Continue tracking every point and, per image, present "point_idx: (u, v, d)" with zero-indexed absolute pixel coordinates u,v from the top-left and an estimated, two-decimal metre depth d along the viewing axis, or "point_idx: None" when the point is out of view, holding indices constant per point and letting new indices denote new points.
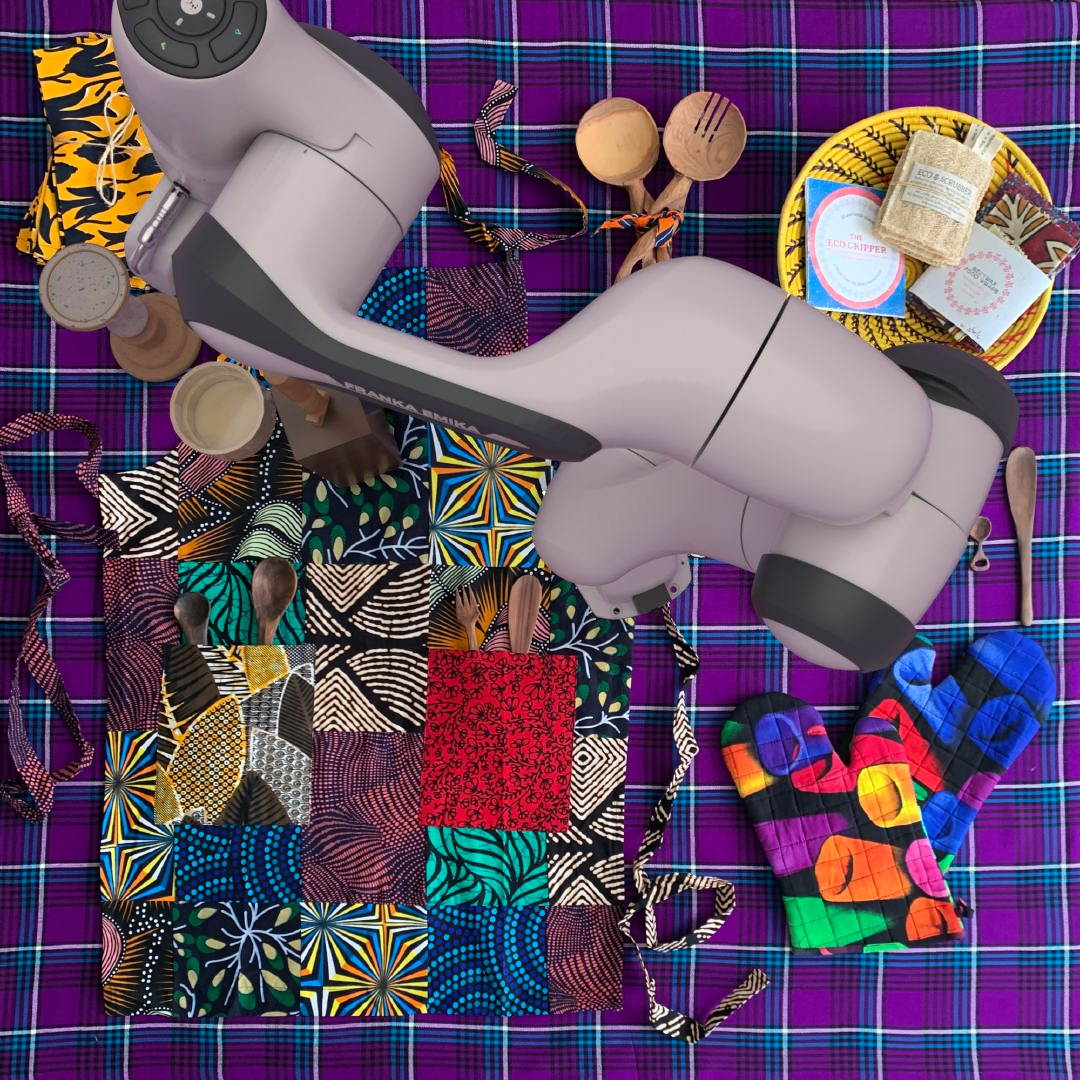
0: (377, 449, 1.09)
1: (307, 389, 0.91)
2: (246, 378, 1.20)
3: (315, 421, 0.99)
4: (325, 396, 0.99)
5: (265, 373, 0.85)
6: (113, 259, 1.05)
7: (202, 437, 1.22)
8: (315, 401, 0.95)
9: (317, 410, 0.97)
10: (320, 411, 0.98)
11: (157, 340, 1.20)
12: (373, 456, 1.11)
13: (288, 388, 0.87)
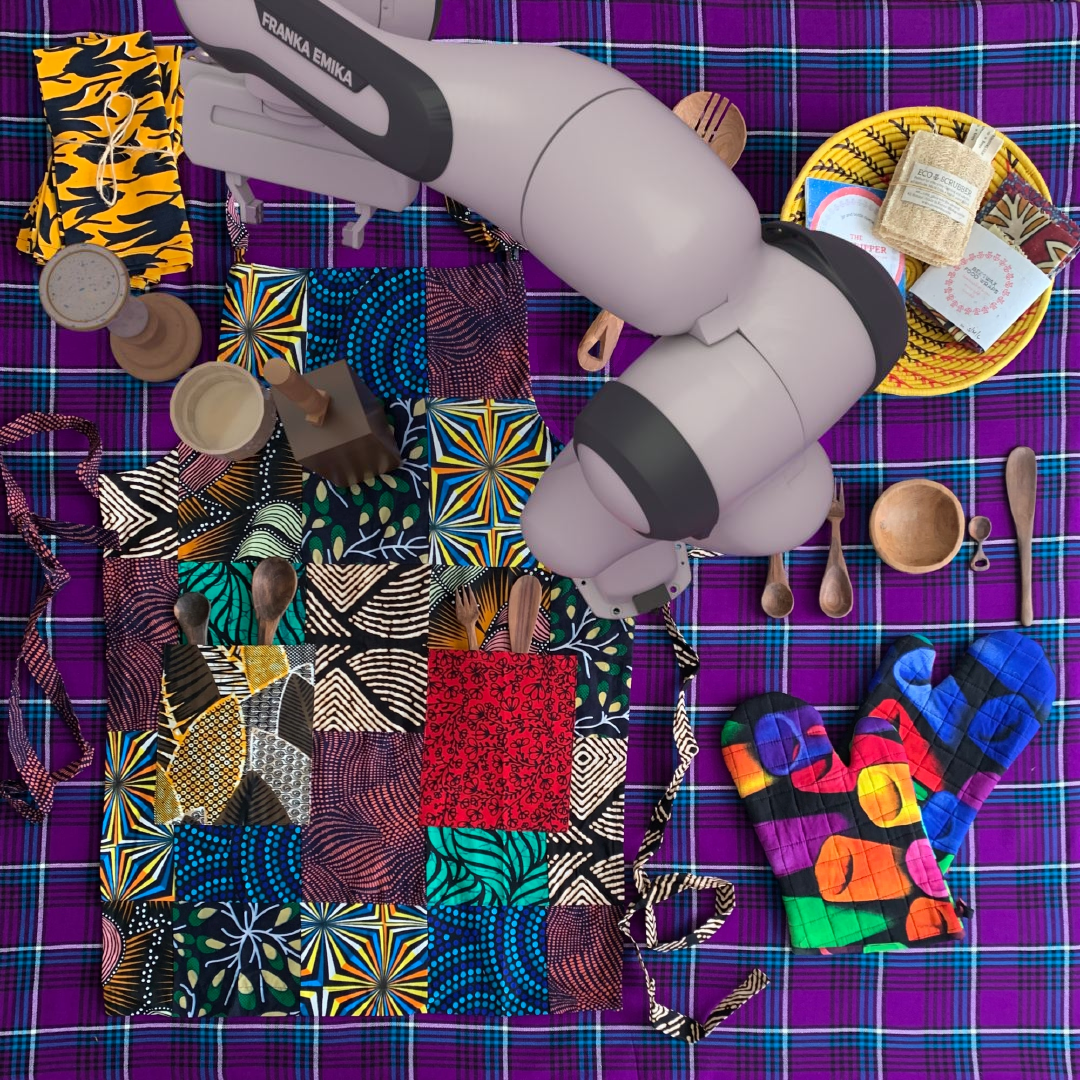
0: (377, 449, 1.09)
1: (307, 389, 0.91)
2: (246, 378, 1.20)
3: (315, 421, 0.99)
4: (325, 396, 0.99)
5: (265, 373, 0.85)
6: (113, 259, 1.05)
7: (202, 437, 1.22)
8: (315, 401, 0.95)
9: (317, 410, 0.97)
10: (320, 411, 0.98)
11: (157, 340, 1.20)
12: (373, 456, 1.11)
13: (288, 388, 0.87)
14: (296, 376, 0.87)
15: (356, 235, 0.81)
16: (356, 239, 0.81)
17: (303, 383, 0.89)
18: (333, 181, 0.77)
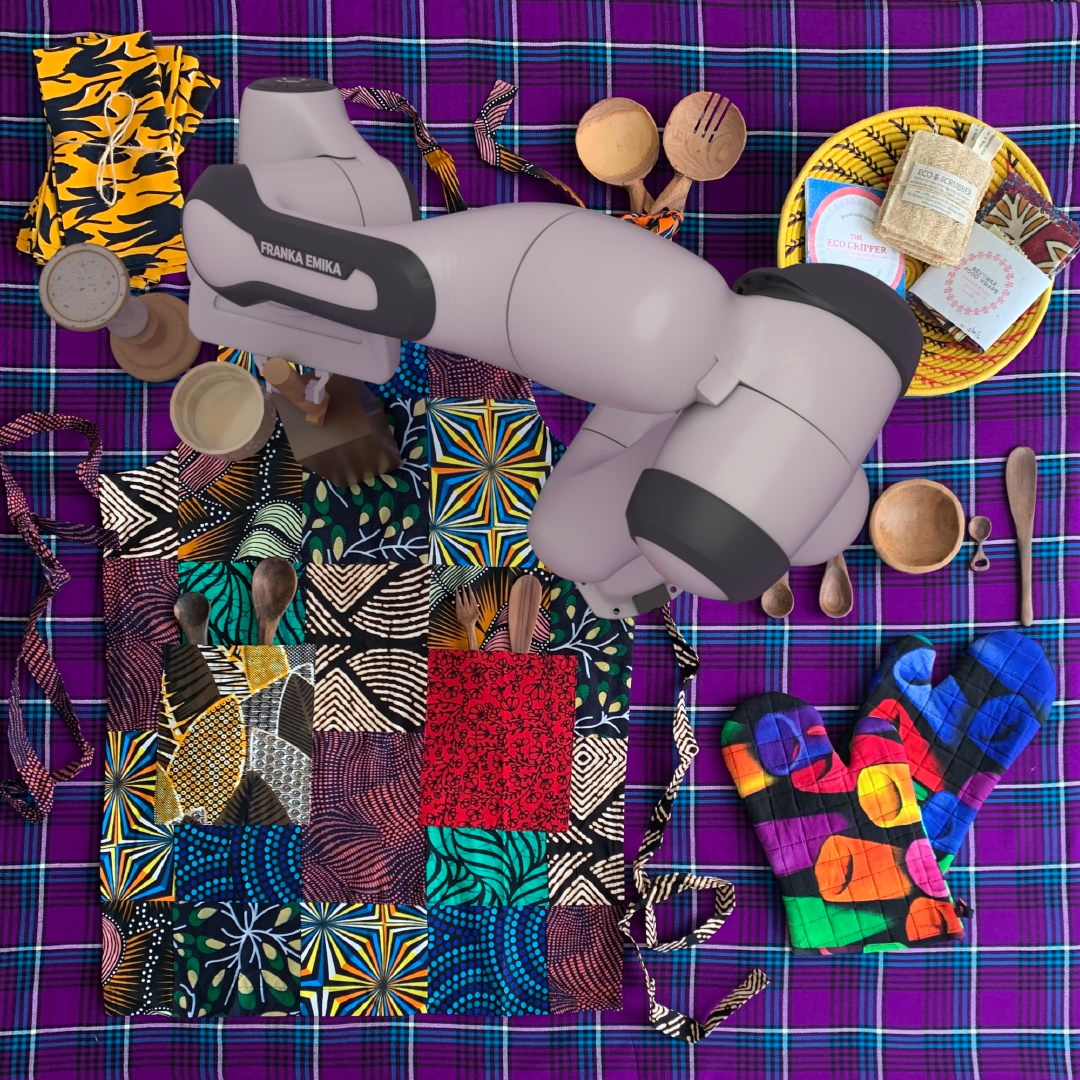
0: (377, 449, 1.09)
1: None
2: (246, 378, 1.20)
3: (315, 421, 0.99)
4: (325, 396, 0.99)
5: (265, 373, 0.85)
6: (113, 259, 1.05)
7: (202, 437, 1.22)
8: None
9: (317, 410, 0.97)
10: (320, 411, 0.98)
11: (157, 340, 1.20)
12: (373, 456, 1.11)
13: (288, 388, 0.87)
14: (296, 376, 0.87)
15: (317, 393, 0.90)
16: (317, 397, 0.90)
17: (303, 383, 0.89)
18: (322, 358, 0.86)
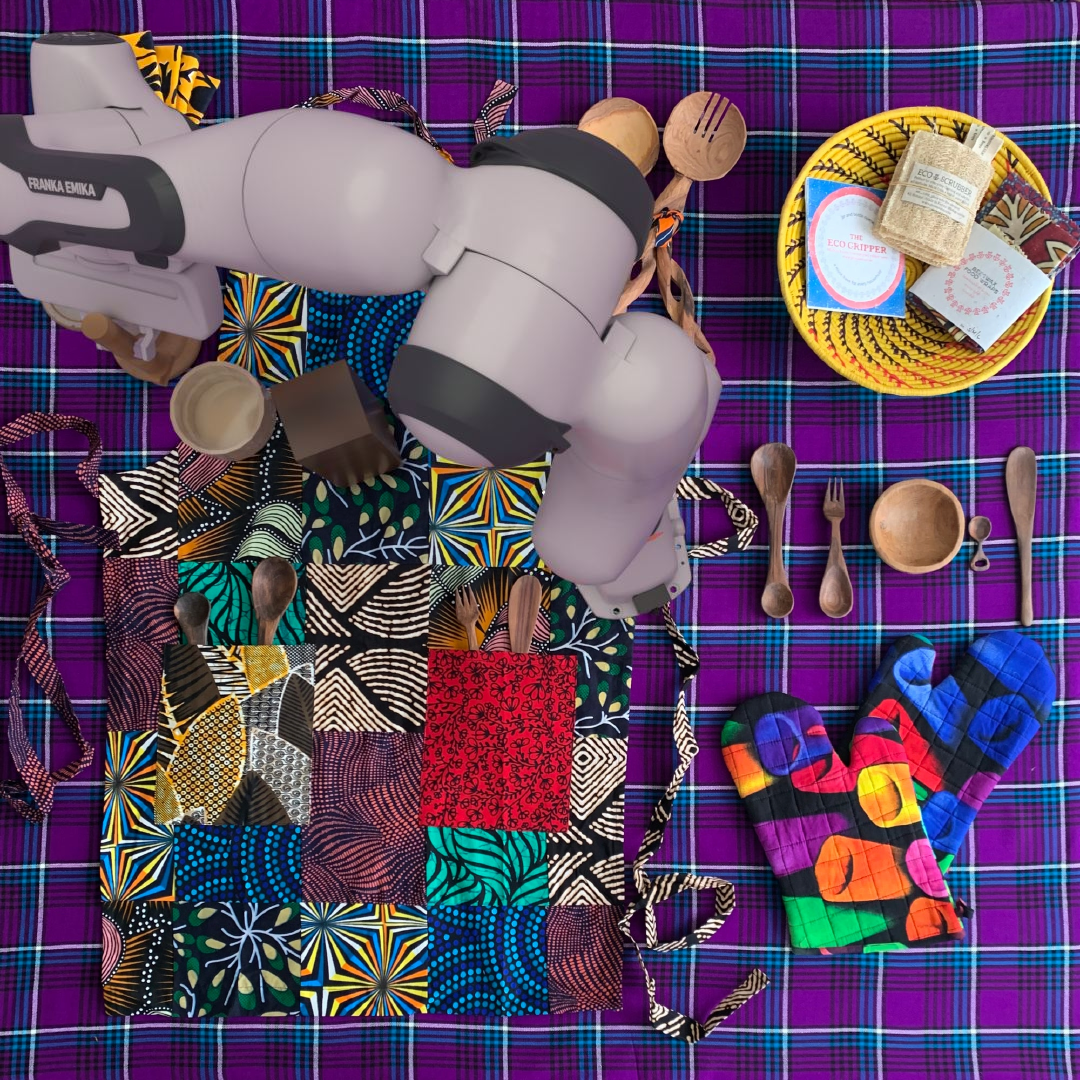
0: (377, 449, 1.09)
1: None
2: (246, 378, 1.20)
3: (157, 381, 1.01)
4: (168, 356, 1.01)
5: (83, 328, 0.87)
6: None
7: (202, 437, 1.22)
8: None
9: (156, 369, 0.98)
10: (160, 370, 0.99)
11: (157, 340, 1.20)
12: (373, 456, 1.11)
13: (110, 344, 0.89)
14: (118, 332, 0.89)
15: (145, 350, 0.92)
16: (145, 353, 0.92)
17: (129, 340, 0.91)
18: (143, 314, 0.88)
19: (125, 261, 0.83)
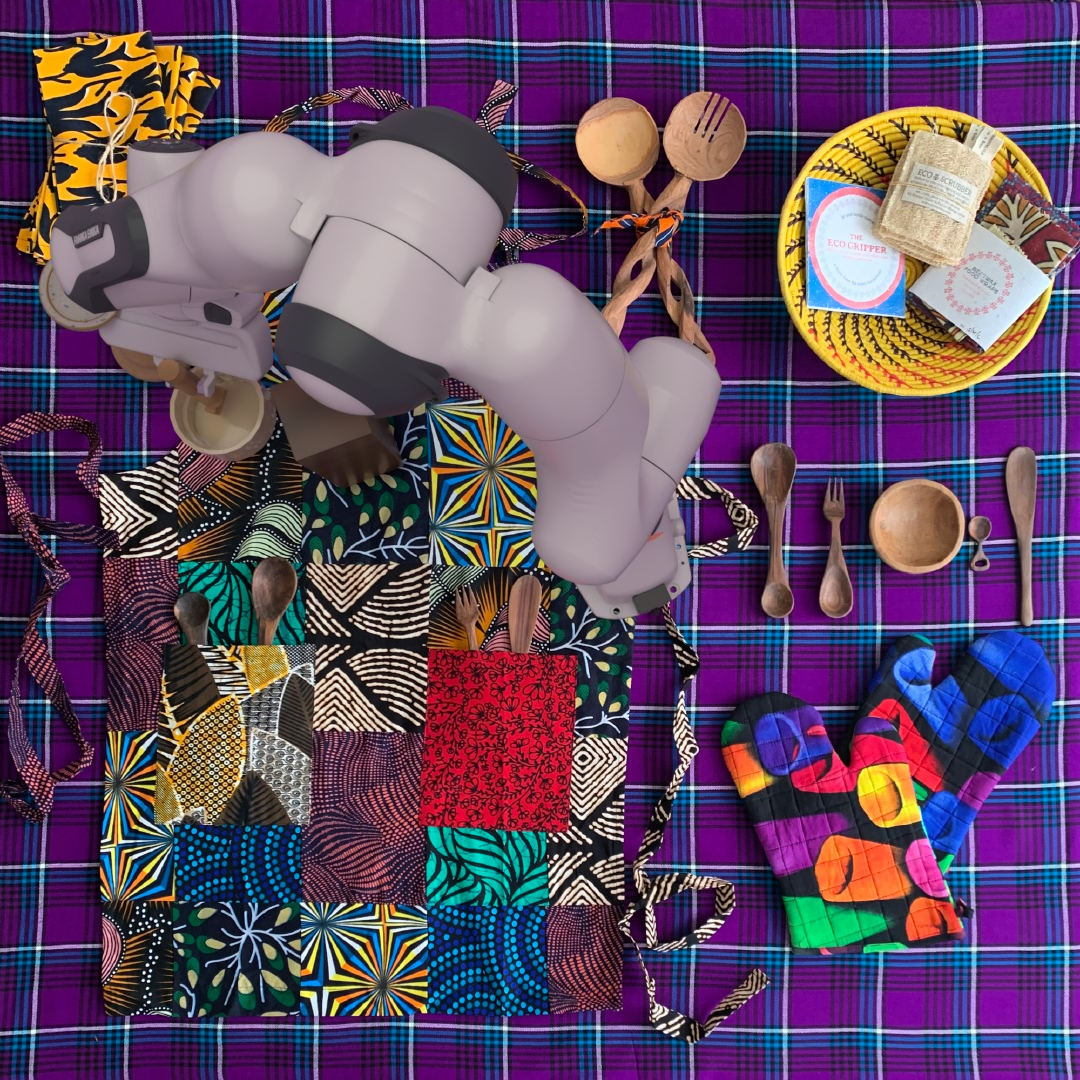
0: (377, 449, 1.09)
1: None
2: None
3: (213, 411, 1.19)
4: (221, 390, 1.19)
5: (159, 371, 1.05)
6: None
7: (202, 437, 1.22)
8: None
9: (212, 402, 1.17)
10: (216, 403, 1.18)
11: None
12: (373, 456, 1.11)
13: (180, 384, 1.07)
14: (186, 374, 1.07)
15: (206, 388, 1.10)
16: (207, 391, 1.10)
17: (194, 380, 1.09)
18: (207, 360, 1.06)
19: (196, 319, 1.01)
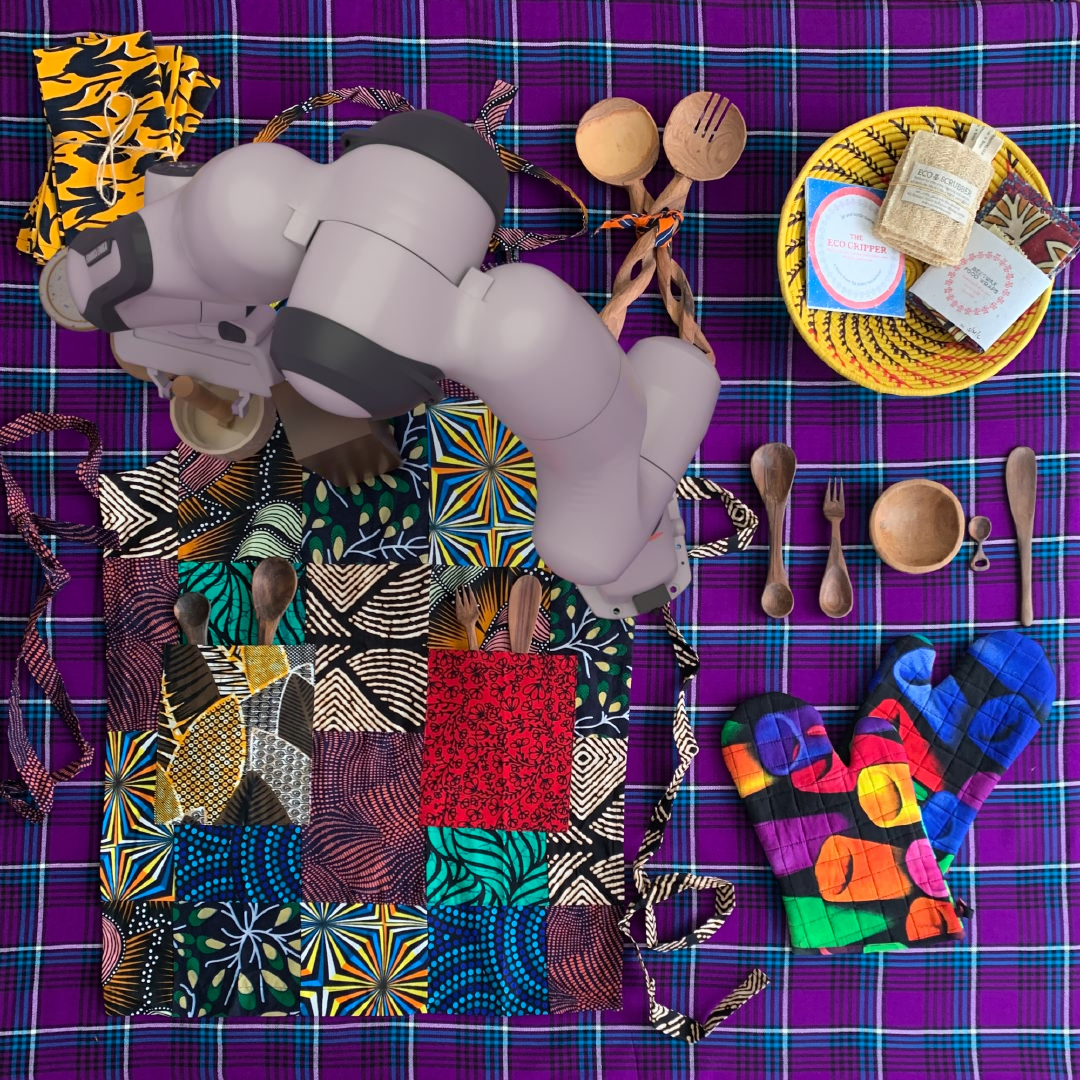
0: (377, 449, 1.09)
1: (212, 400, 1.13)
2: None
3: (225, 425, 1.21)
4: None
5: (173, 388, 1.07)
6: None
7: (202, 437, 1.22)
8: (222, 410, 1.16)
9: (225, 416, 1.18)
10: (228, 417, 1.19)
11: None
12: (373, 456, 1.11)
13: (194, 400, 1.09)
14: (200, 390, 1.09)
15: (241, 409, 1.12)
16: (241, 412, 1.12)
17: (208, 395, 1.11)
18: (221, 376, 1.08)
19: (211, 337, 1.03)
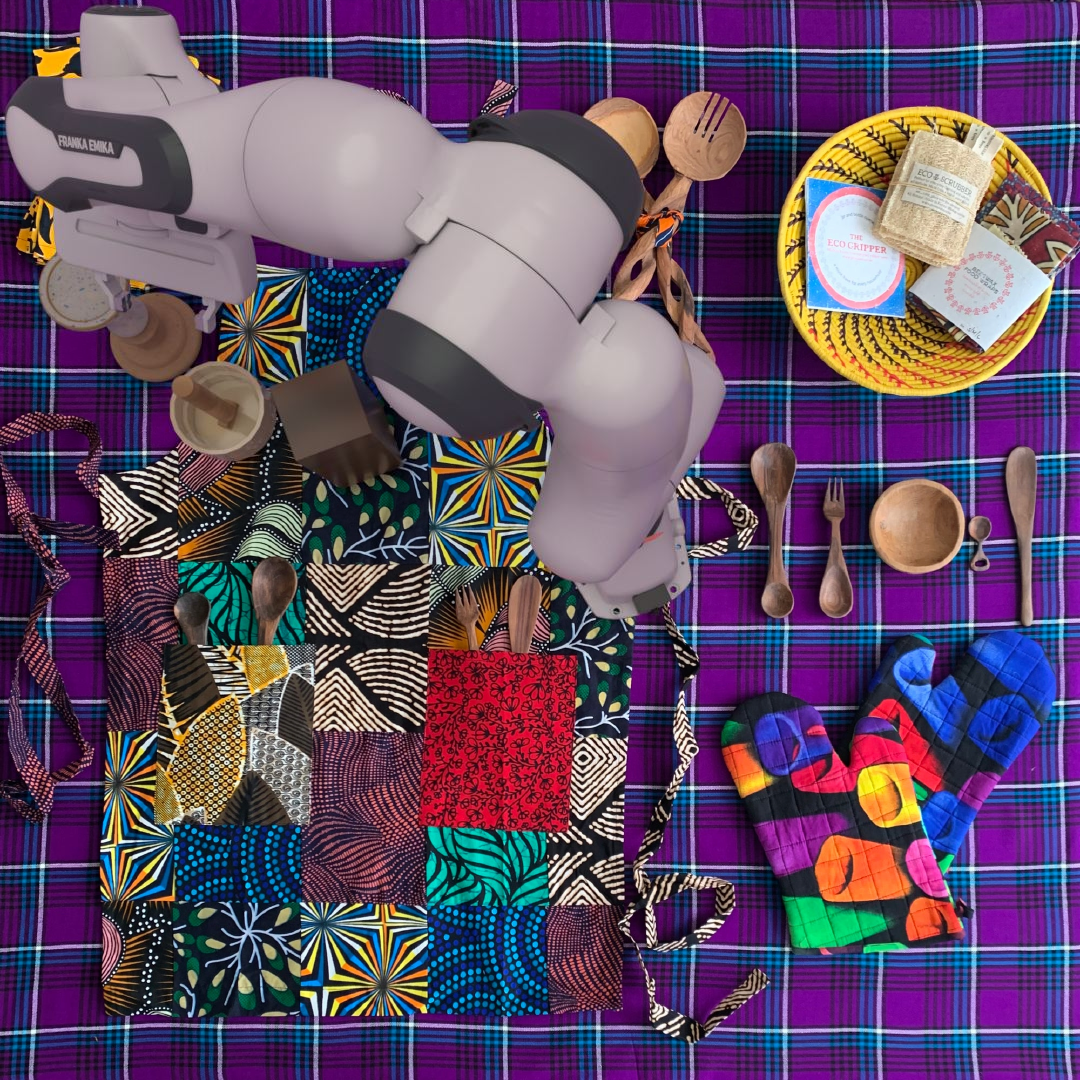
0: (377, 449, 1.09)
1: (212, 400, 1.13)
2: (246, 378, 1.20)
3: (225, 425, 1.21)
4: (234, 405, 1.21)
5: (173, 388, 1.07)
6: None
7: (202, 437, 1.22)
8: (222, 410, 1.16)
9: (225, 416, 1.18)
10: (228, 417, 1.19)
11: (157, 340, 1.20)
12: (373, 456, 1.11)
13: (194, 400, 1.09)
14: (200, 390, 1.09)
15: (206, 322, 0.95)
16: (206, 325, 0.96)
17: (208, 395, 1.11)
18: (181, 280, 0.92)
19: (166, 227, 0.86)
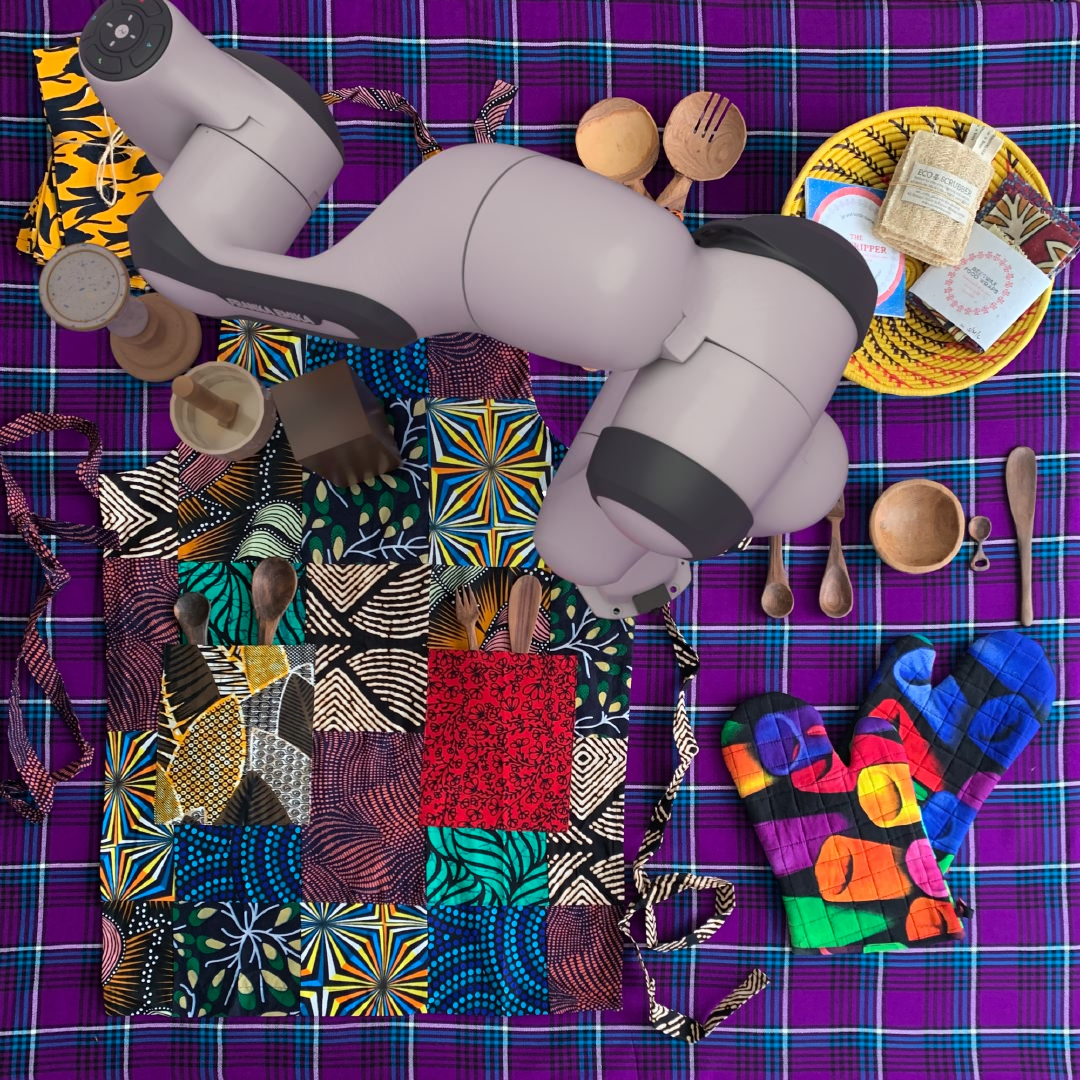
0: (377, 449, 1.09)
1: (212, 400, 1.13)
2: (246, 378, 1.20)
3: (225, 425, 1.21)
4: (234, 405, 1.21)
5: (173, 388, 1.07)
6: (113, 259, 1.05)
7: (202, 437, 1.22)
8: (222, 410, 1.16)
9: (225, 416, 1.18)
10: (228, 417, 1.19)
11: (157, 340, 1.20)
12: (373, 456, 1.11)
13: (194, 400, 1.09)
14: (200, 390, 1.09)
15: None
16: None
17: (208, 395, 1.11)
18: None
19: None
